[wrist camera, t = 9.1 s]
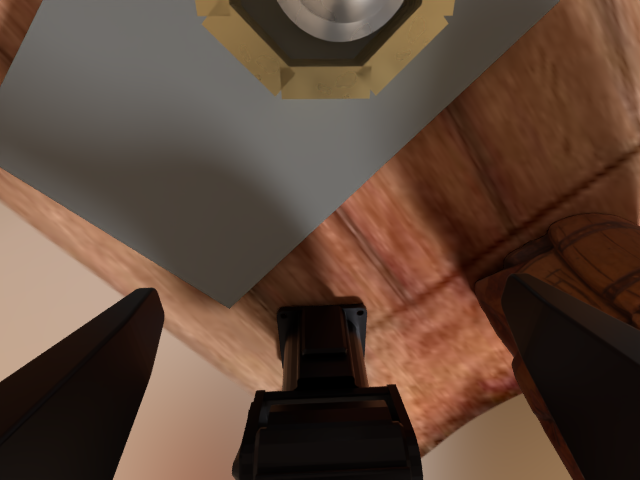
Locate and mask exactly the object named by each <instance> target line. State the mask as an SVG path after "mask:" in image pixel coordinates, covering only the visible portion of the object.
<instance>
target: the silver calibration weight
mask: <svg viewBox="0 0 640 480" xmlns="http://www.w3.org/2000/svg"><path fill="white" fill-rule="evenodd" d="M403 1H404V0H277V2H278V3H279V5H280V6H281V8H282V9H283V11H284V12H285V13H286V15H287V16H288V17H289V18H290V19H291V20H292V21H293V22H294V23H295V24H296V25H297V26H298V27H299V28H301V29H302V30H304V31H305V32H307V33H308V34H310V35H312V36H314V37H317V38H320V39H322V40H327V41H332V42H346V41H352V40H356V39H360V38H362V37H365V36H367V35H369V34H371V33H373V32H375V31H376V30H378V29H379V28H380V27H382V26H383V25H384V24H385V23H386V22H387V21H388V20H389V19H390V18H391V17H392V16H393V15H394V14H395V13H396V11H397V10H398V9H399V7H400V6H401V4H402V3H403Z"/></svg>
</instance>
